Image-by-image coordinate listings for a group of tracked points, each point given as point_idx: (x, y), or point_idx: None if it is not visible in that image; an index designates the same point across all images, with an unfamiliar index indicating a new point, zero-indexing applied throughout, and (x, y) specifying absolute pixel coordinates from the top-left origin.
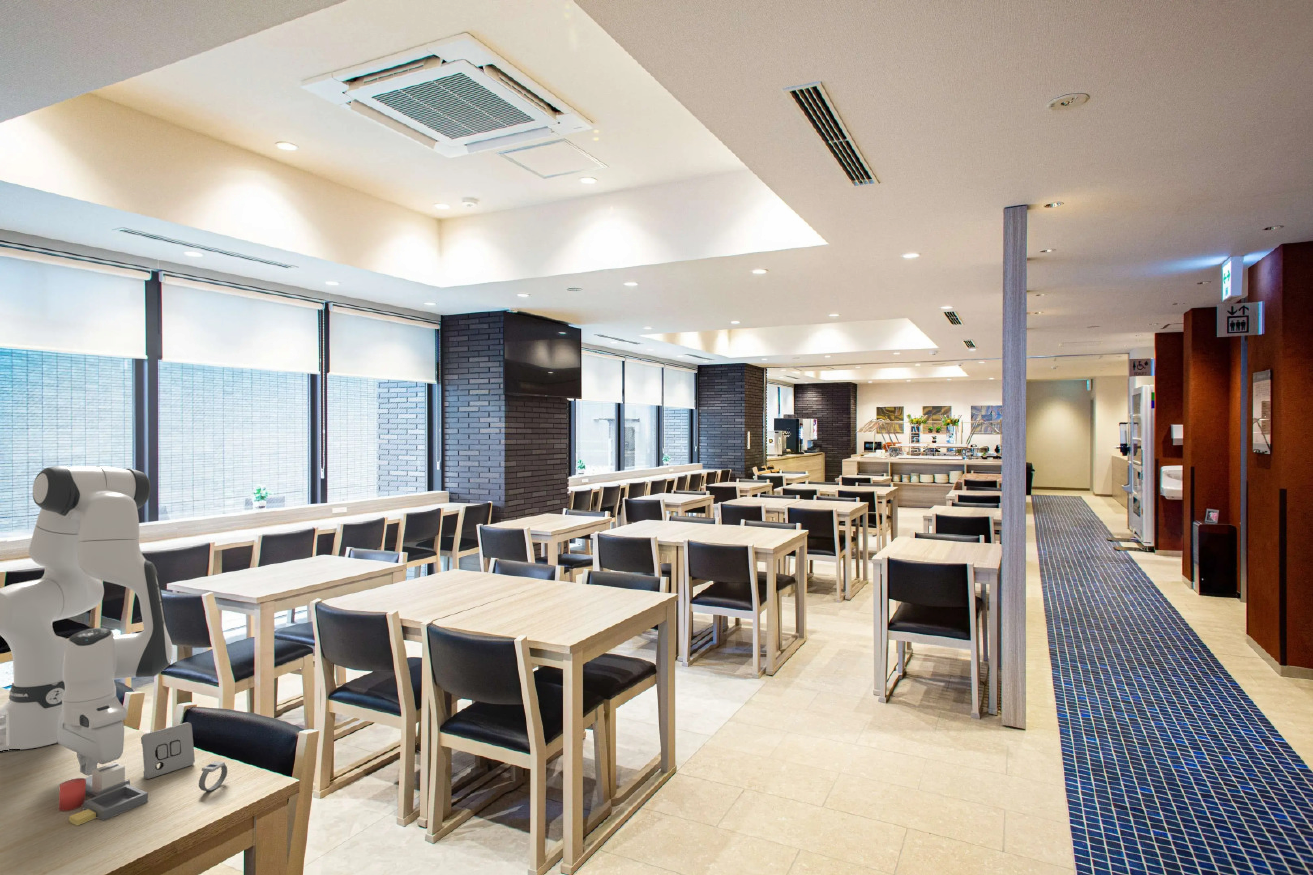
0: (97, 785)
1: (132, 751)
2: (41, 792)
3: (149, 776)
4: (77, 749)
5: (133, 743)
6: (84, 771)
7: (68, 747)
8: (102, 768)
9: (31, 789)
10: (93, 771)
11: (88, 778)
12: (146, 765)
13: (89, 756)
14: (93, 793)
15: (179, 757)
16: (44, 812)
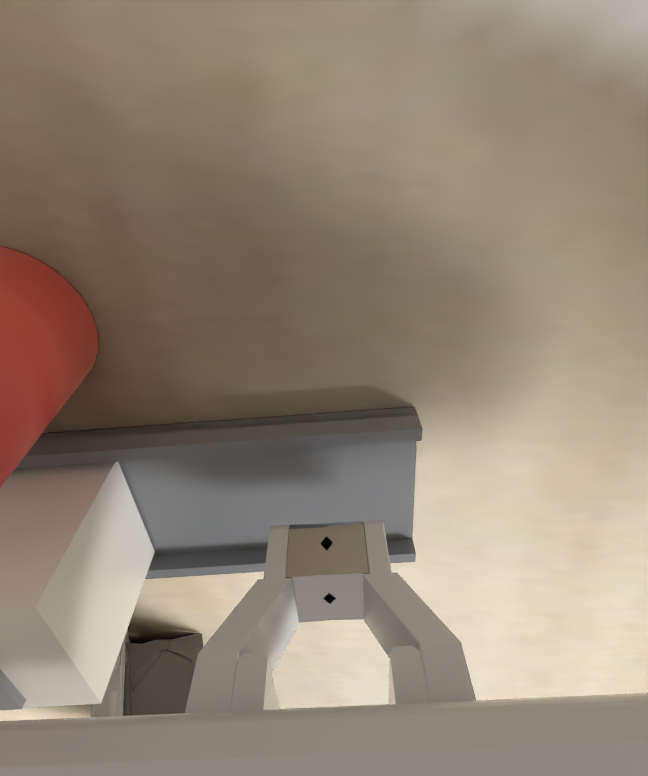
0: (7, 513)
1: (544, 668)
2: (493, 270)
3: None
4: (355, 772)
5: (632, 688)
6: (306, 542)
7: (621, 721)
8: (15, 646)
9: (641, 242)
10: (12, 601)
11: (388, 501)
12: (92, 705)
13: (12, 762)
14: (31, 457)
15: None
16: (21, 152)
